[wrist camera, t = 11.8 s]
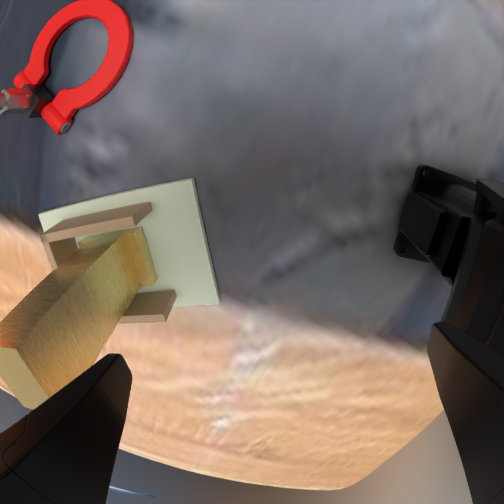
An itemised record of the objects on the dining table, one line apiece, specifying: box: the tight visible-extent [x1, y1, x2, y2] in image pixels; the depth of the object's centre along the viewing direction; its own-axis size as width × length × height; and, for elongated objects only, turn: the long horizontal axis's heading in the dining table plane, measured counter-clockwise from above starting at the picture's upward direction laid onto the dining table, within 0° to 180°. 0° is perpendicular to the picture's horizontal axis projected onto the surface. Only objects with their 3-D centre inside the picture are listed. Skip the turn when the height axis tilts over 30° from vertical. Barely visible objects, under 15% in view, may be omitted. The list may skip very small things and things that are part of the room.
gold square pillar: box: [0, 226, 158, 409], centre depth 16 cm, size 5×4×12 cm
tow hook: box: [0, 0, 133, 135], centre depth 10 cm, size 8×13×9 cm
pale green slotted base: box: [39, 178, 221, 323], centre depth 20 cm, size 13×9×4 cm
